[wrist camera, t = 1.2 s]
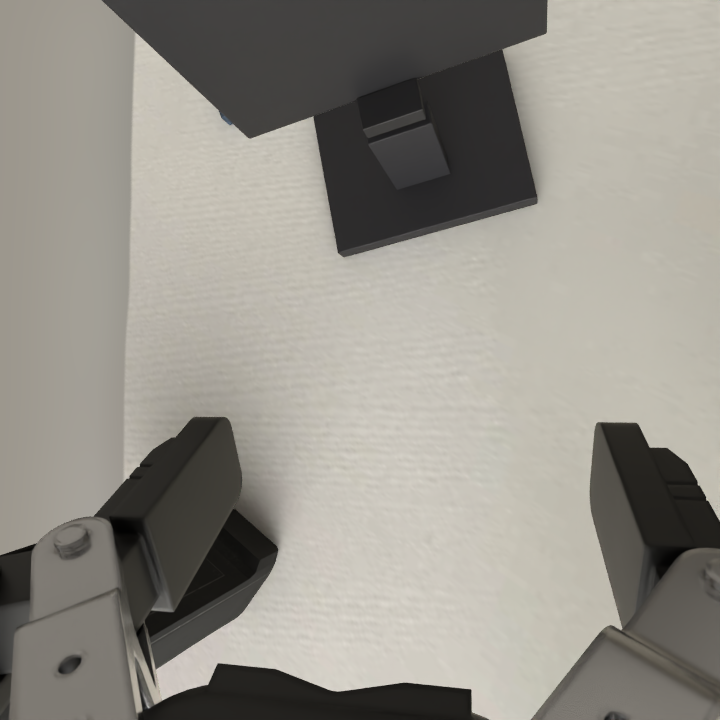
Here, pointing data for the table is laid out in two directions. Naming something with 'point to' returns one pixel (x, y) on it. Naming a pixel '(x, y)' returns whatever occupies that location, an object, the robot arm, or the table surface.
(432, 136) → the monitor stand
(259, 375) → the table surface
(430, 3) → the monitor screen
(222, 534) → the portable radio
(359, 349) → the table surface
